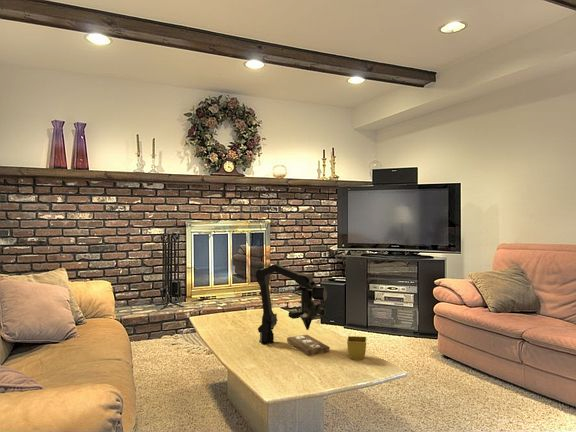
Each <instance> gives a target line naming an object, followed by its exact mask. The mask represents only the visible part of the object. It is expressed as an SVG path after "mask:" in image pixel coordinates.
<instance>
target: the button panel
mask: <svg viewBox="0 0 576 432" xmlns="http://www.w3.org/2000/svg"><path fill="white" fill-rule="evenodd" d="M297 336H298V335H296V336H295V335H294V336H288V337H287V338H286V342H287V343H288V344H289V345H291V346H292V347H294V348H296V349H297V351H300V352H302V354H304V355H306V356H309V357H310V356H313V355H319V354H320V355H321V354H326V353H330V346H328V345H326V344H325V343H323V342H321V341H320V340H318V339H316V338H314V337H312V336H311V335H308V334H303V335H300V336H303V337H305V339H299V340H298V339H296V338H295V337H297ZM302 340H311V341H313V343H308V344H304V343H303V342H302ZM314 344H317V345H319V346H320V347H319V348H311V347H310V345H314Z"/></svg>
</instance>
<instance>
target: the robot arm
mask: <svg viewBox="0 0 576 432" xmlns="http://www.w3.org/2000/svg"><path fill="white" fill-rule="evenodd" d="M274 273H277V274H279V275H282V276H283V277H286V278H289V279H290V280H293V281H294V282H295V283H296V284H298V285H299V287H298V288H297V289H296V291H300V301H299V303H300V305H301V307H300V309H299V310H300V311H298V310H290V311H288V317H289V318H290V319H292V320H293V319H299V318H300V320H302V322H303V325H304V327H305V330H306V331H309V330H310V326H311V323H312V321H313V320H314V318H316V317H318V315H319V316H325V315H326V309H325V308H323V307H321V305H319V304H318V305H314V304H315V303H314V301H316V300H317V301H326V300H327V298H328V292H327V289H326V286H318V285H317V283H315V280H314V278H313V276H312V275H311V274H309V273H305V272H304V273H302V272H298V271H295V270H293V269H290V268H287V267H285V266H282V265H280V264H279V263H273V264H271V265H270V266H267V267H264V268H260V269H257V270H256V271H255V279H256V282H257V283H258V286H259V289H260V295H261V296H260V297H261V304H262V311H263V313H262V316H261V325H259V327H258V328H257V331H258V333H259V340H258V343H260V344H262V345H268V344H274V343H275V339H274V338H275V337H274V332H273V330H274V328H275V327H276V325H277V323H278V317H277V316H278V315H277V313H274V311H273V307H272V301H271V300H272V299H271V293H270V292H271V291H270V286H269V285H270V280H271V275H273V274H274ZM313 300H314V301H313Z"/></svg>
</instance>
